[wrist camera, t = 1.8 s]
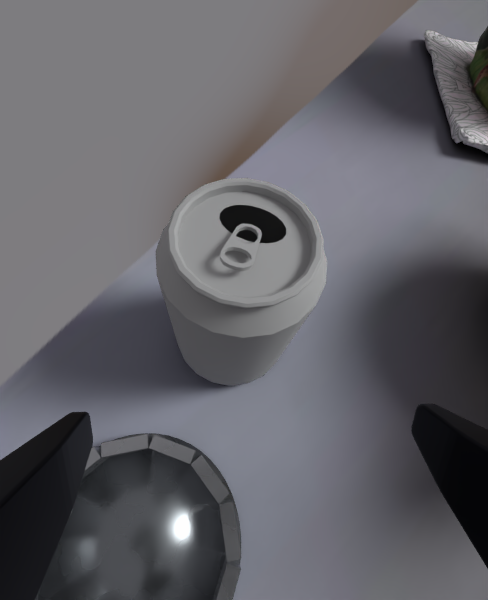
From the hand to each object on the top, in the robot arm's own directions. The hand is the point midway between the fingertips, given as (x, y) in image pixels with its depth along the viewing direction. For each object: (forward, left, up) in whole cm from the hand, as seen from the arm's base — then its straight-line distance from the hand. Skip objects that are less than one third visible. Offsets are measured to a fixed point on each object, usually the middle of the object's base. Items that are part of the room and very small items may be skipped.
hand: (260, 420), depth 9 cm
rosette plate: (-4, +6, -13) cm, 15 cm away
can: (+7, -1, -13) cm, 15 cm away
